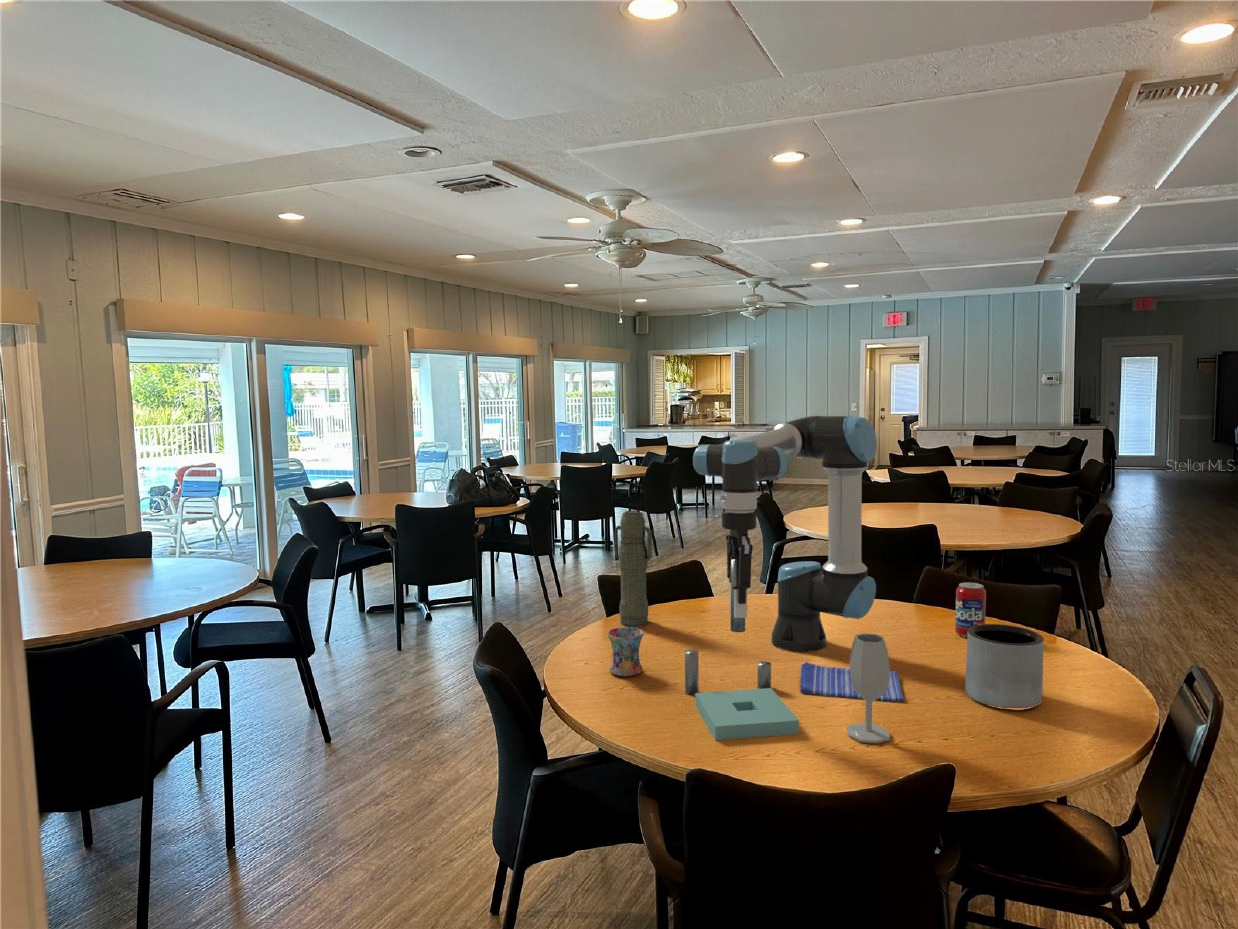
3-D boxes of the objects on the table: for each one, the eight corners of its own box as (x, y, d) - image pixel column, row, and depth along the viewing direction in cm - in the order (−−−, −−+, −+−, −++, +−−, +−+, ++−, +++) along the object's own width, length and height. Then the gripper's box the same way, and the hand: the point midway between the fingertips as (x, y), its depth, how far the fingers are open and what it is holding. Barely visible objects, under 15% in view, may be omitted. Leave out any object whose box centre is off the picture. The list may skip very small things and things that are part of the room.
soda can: (986, 633, 229) (988, 583, 227) (982, 641, 222) (984, 589, 221) (957, 629, 233) (958, 580, 231) (952, 637, 226) (954, 586, 225)
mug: (636, 681, 196) (635, 639, 195) (602, 676, 199) (601, 635, 198) (652, 665, 207) (652, 626, 206) (620, 661, 210) (619, 622, 209)
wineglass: (840, 727, 167) (841, 632, 165) (879, 725, 168) (881, 630, 166) (856, 746, 159) (857, 645, 157) (897, 743, 160) (899, 643, 157)
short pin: (768, 684, 192) (768, 661, 192) (772, 689, 189) (772, 665, 188) (755, 685, 192) (755, 661, 191) (759, 690, 189) (759, 666, 188)
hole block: (770, 700, 182) (771, 688, 182) (798, 734, 165) (798, 720, 164) (695, 705, 180) (695, 693, 180) (715, 740, 162) (715, 726, 162)
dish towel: (801, 670, 203) (801, 660, 202) (898, 678, 196) (898, 667, 196) (798, 696, 186) (798, 684, 186) (904, 705, 180) (904, 693, 180)
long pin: (742, 628, 176) (743, 557, 175) (746, 632, 173) (747, 560, 172) (728, 628, 176) (729, 558, 175) (732, 632, 173) (733, 561, 171)
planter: (1011, 718, 171) (1013, 649, 169) (949, 694, 185) (951, 629, 183) (1057, 704, 178) (1060, 637, 177) (995, 681, 192) (997, 619, 191)
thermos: (650, 627, 239) (649, 514, 236) (612, 625, 242) (610, 513, 238) (655, 619, 248) (654, 509, 244) (618, 617, 250) (617, 509, 247)
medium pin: (696, 689, 190) (696, 649, 189) (699, 694, 187) (699, 653, 186) (683, 690, 189) (683, 650, 188) (686, 695, 186) (686, 654, 185)
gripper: (713, 505, 180) (713, 605, 182) (731, 516, 164) (731, 626, 166) (745, 505, 181) (744, 604, 183) (766, 515, 165) (765, 624, 167)
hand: (738, 614), depth 174 cm, fingers closed on long pin, 3 cm apart
